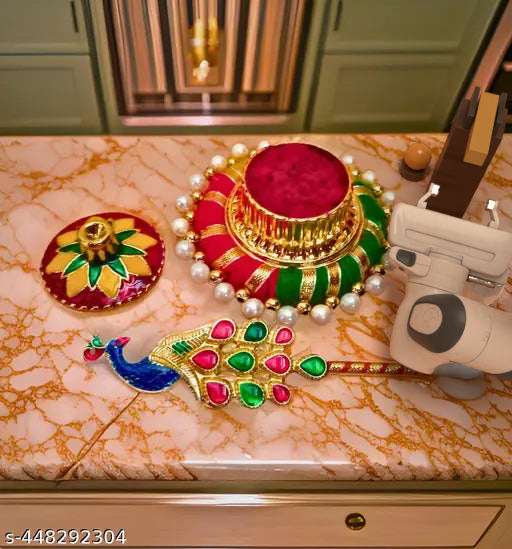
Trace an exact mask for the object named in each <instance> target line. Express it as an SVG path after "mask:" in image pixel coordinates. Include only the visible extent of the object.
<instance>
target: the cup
mask: <svg viewBox="0 0 512 549" xmlns="http://www.w3.org/2000/svg"><path fill="white" fill-rule="evenodd" d="M481 279H482V278H481ZM484 280H485V279H484ZM487 281H488V280H487ZM496 285H499V283H496ZM505 288H506V284H505V285H503V286H501V287H495V288H494V289H492V288H488V287H486V286H483V285H479V284H474V283H471V282H468V281H466V284H465V287H464V290H463V294H462V296H464V297H467V298H470V299H472V300H475V301H478V302H480V303H482V304H485V305H488V306H490V305H491V304H492V303H493V302H495V301H496V300H497V299H498V298H499V297H500V296H501V295H502V292H503V291H504V289H505Z"/></svg>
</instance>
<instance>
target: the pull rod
mask: <svg viewBox="0 0 512 549" xmlns="http://www.w3.org/2000/svg"><path fill="white" fill-rule="evenodd" d="M480 92H481V93H480V94H479V97H478V101H477V105H476V110H475V114H474V118H473V122H472V126H471V130H470V135H469V139H468V143H467V148H466V152H465V156H464V162H468V163H472V164H476V165H479V166H482V165H483V163H484V161H485V159H486V156H487V154H488V150H489V145H490V140H491V135H492V130H493V125H494V120H495V115H496V110H497V105H498V101H499V98H500V95H499V94H496V93H491V92H486V91H480Z"/></svg>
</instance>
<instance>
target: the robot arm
mask: <svg viewBox="0 0 512 549" xmlns="http://www.w3.org/2000/svg"><path fill="white" fill-rule="evenodd" d="M439 188H440V185H438V184H435V183H431V184H430V187H429V190H428V192H427V193H426V192H425V193H426V194H425V193H424V195H423V196H422V197H421V198H419V200H418V201H417V203H416V205H412V204H411V203H410V204H409V203H405V202H402V201H400V202H398V203H396V204H395V205H394V206H393V207H392V210H391V215H390V218H389V223H388V228H387V243H388V245H389V249H388V250H387V252H386V256H385V258H386V261H387V262H388V264H390V265H392V266H393V267H395V268H396V269H398V270H399V271H401V272H402V273H404V274H406V275H407V276H408V277H407V280H406V283H405V293H404V298H403V300H402V302H401V303H400V304H399V306H398V309H397V312H396V315H395V318H394V323H393V326H392V329H391V330H392V331H391V334H390V340H389V355H390V357H391V358H392V359H393V361H394V362H396V363H397V364H398V365H400V366H402V367H404V368H406V369H408V370H410V371H413V372H416V373H417V374H422V375H432V374H433V373H434V372H435V371H436V369H437V367H439V366H443V365H446V364H453V363H456V364H458V365H462V366H465V367H468V368H472V369H474V370H477V371H480V372H482V373H483V374H486V375H489V376H491V377H493V378H495V379H498V380H502V381H512V311H505V310H501V309H498V308H497V307H493V306H490V305H489V306H488V305H485V304H482V303H480V302H478V301H475V300H472V299H470V298H467V297H464V296H462V294H463V290H464V287H465V284H466V281H468V282H471V283H474V284H479V285H483V286H486V287H488V288H492V289H494V288H495V287H501V286H503V285H505V286H506V285H507V282H508V280H509V277H510V273H511V268H510V264H511V262H512V232H509V231H506V230H502V229H499V227H500V224H501V222H500V218H499V215H498V214H499V213H498V211H497V209H498V207H499V206H498V205H499V200H497V199H494V198H489V199H487V201H486V205H485V207H484V211H485V212H488V213H489V217H490V218H489V219H490V221H489V222H488V223H487V224H486V225H484V224H481V223H478V222H473V221H470V220H466V219H463V218H462V219H460V218H456V217H453V216H449V215H445V214H442V213H438V212H435V211H431V210H428V209H425V208H426V205H427V202H425V201H426V200H427V199H428V198H429V197H430V196H434V197H436V196H437V194H438V189H439ZM481 278H482V279H481ZM484 279H485V280H484ZM487 280H488V281H487ZM496 283H499V285H496Z"/></svg>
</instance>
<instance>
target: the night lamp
mask: <svg viewBox="0 0 512 549" xmlns="http://www.w3.org/2000/svg"><path fill="white" fill-rule="evenodd" d="M432 158H433V153H432V150H431V148H430V147H429V146H428V145H427V144H425V143H422V142H415V143H412V144H411V145H409V146H408V147H407V148H406V150H405V152H404V156H403V158H402V159H401V160H400V165H399V167H398V171H399V174H400V176H401V177H402V178H403V179H405V180H406V181H409V182H421V181H424V179H426V177H427V175H428V172H429V170H430V163H431V162H432Z"/></svg>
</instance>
